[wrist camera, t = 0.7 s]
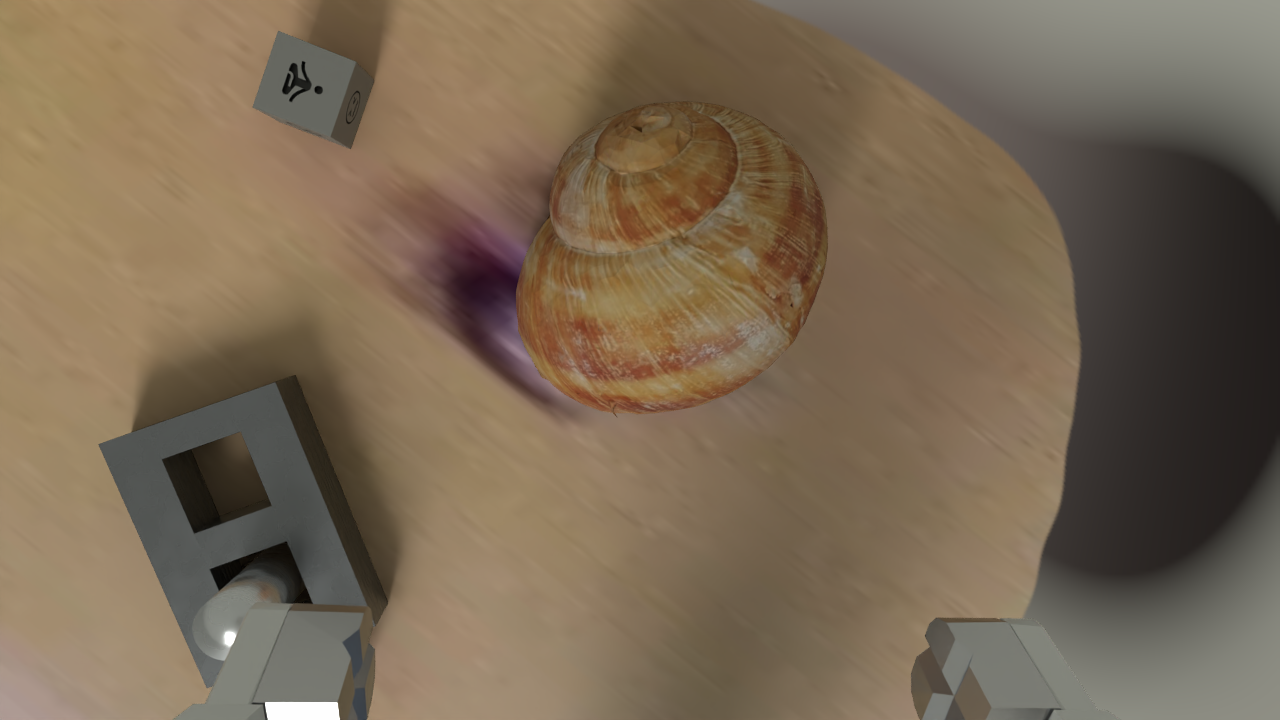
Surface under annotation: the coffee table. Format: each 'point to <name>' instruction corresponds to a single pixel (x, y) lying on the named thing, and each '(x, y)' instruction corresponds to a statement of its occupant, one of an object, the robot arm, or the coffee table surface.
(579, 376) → the seashell
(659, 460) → the coffee table surface
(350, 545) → the jig
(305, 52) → the dice cube
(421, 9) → the coffee table surface
